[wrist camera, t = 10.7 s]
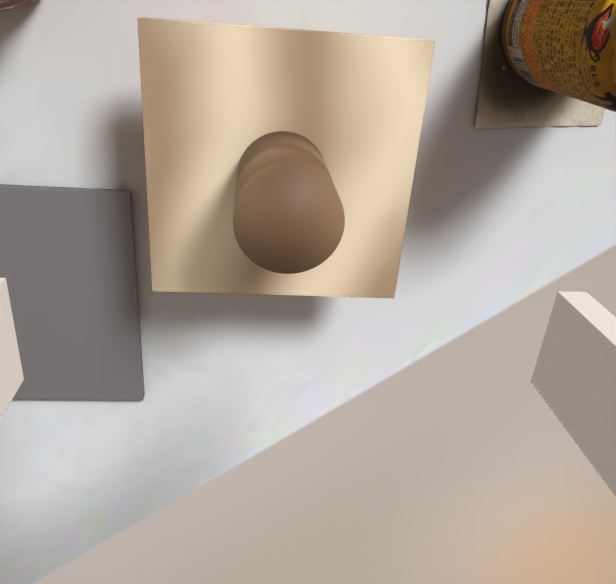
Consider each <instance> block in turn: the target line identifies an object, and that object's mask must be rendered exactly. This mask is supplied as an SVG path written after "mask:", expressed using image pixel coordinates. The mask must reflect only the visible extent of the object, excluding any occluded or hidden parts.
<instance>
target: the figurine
mask: <svg viewBox="0 0 616 584" xmlns="http://www.w3.org/2000/svg"><path fill="white" fill-rule="evenodd" d="M35 1H36V0H0V10H3V9H12V8H14V7H17V6H21V5H24V4H28V3H32V2H35Z"/></svg>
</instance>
